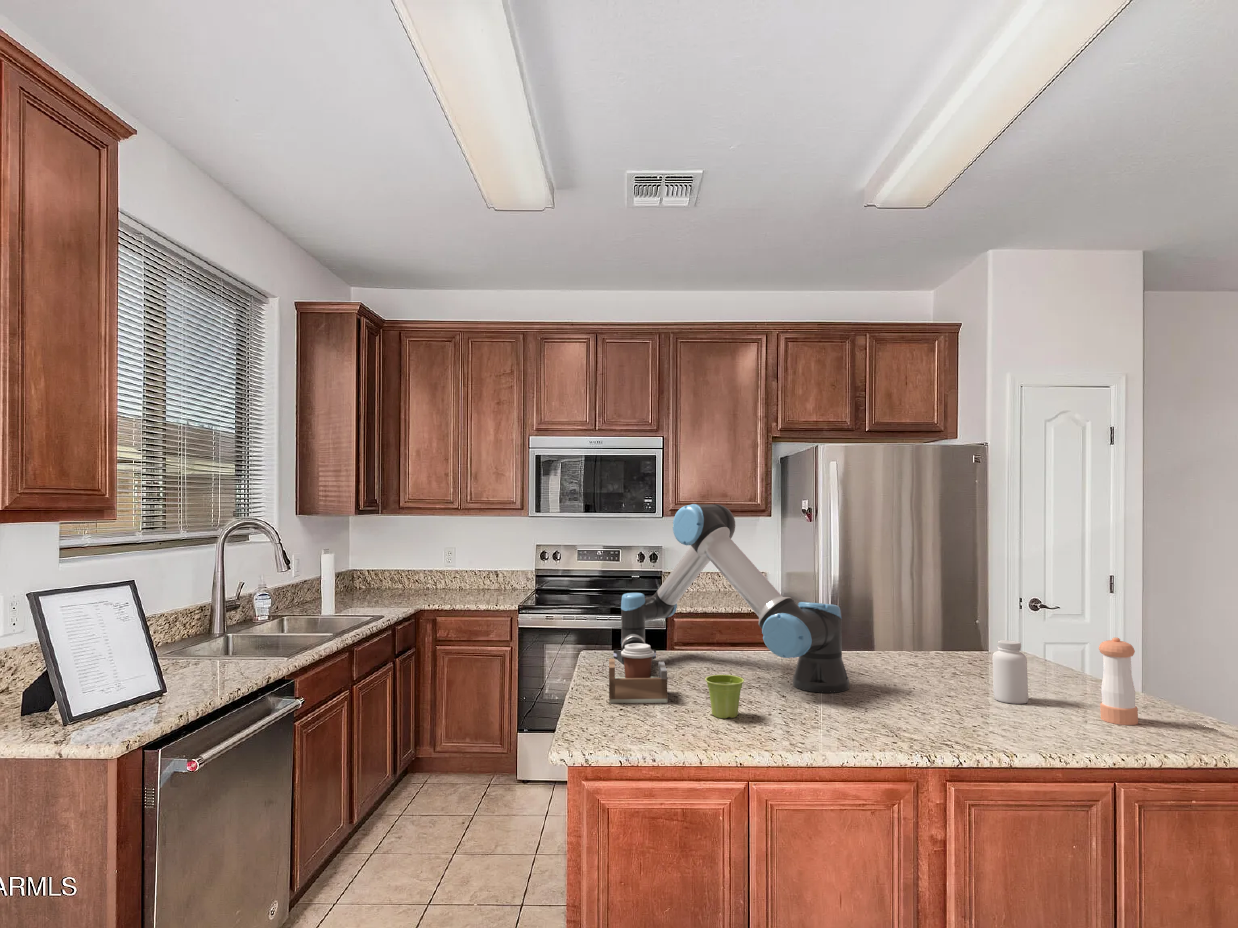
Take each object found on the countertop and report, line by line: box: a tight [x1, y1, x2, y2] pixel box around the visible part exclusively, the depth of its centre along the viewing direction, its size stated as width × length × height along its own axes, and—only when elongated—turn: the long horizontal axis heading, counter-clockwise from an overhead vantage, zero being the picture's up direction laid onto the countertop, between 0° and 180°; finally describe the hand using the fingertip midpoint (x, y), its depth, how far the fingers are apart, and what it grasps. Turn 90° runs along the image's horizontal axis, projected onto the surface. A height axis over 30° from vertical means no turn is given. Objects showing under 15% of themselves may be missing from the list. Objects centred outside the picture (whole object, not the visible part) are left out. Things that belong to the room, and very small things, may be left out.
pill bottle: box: [991, 639, 1029, 705], centre depth 194 cm, size 8×8×15 cm
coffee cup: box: [621, 643, 654, 678], centre depth 202 cm, size 9×9×12 cm
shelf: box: [608, 657, 668, 704], centre depth 206 cm, size 24×15×9 cm, turn 1°
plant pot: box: [704, 674, 745, 719], centre depth 182 cm, size 9×9×9 cm
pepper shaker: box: [1098, 637, 1139, 726], centre depth 176 cm, size 7×7×19 cm
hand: (636, 666), depth 207 cm, fingers closed
